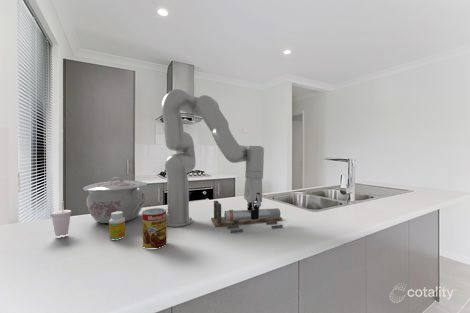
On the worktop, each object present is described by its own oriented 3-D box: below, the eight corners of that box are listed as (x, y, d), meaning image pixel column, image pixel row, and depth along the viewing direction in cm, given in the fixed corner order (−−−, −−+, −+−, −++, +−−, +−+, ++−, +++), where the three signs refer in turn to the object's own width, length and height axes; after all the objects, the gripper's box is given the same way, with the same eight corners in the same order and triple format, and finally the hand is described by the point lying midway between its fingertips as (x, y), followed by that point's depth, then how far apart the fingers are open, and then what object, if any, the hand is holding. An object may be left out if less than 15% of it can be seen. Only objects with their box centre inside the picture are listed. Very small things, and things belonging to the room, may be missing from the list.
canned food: (152, 251, 73) (152, 215, 73) (137, 246, 78) (137, 212, 77) (171, 243, 80) (171, 210, 80) (156, 239, 84) (156, 207, 84)
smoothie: (75, 234, 89) (75, 199, 89) (58, 240, 83) (57, 203, 83) (64, 232, 91) (63, 198, 91) (47, 238, 85) (46, 201, 85)
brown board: (215, 227, 97) (215, 205, 97) (211, 220, 107) (211, 200, 106) (282, 220, 106) (282, 200, 106) (272, 214, 116) (272, 196, 116)
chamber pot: (88, 216, 115) (87, 175, 115) (146, 209, 127) (145, 173, 126) (76, 234, 90) (75, 182, 89) (150, 224, 101) (149, 178, 101)
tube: (226, 221, 90) (226, 211, 91) (224, 220, 94) (224, 210, 95) (280, 218, 97) (280, 208, 98) (276, 217, 101) (276, 207, 102)
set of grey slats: (231, 233, 90) (231, 230, 90) (227, 228, 95) (227, 226, 95) (282, 227, 96) (282, 225, 96) (276, 223, 102) (276, 221, 102)
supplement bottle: (109, 242, 82) (108, 215, 81) (109, 237, 86) (109, 211, 86) (125, 239, 84) (125, 213, 84) (125, 234, 89) (124, 210, 89)
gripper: (239, 172, 102) (238, 212, 103) (253, 177, 86) (251, 224, 87) (255, 172, 105) (253, 211, 105) (270, 177, 89) (269, 223, 89)
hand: (252, 217), depth 96 cm, fingers closed on tube, 4 cm apart
